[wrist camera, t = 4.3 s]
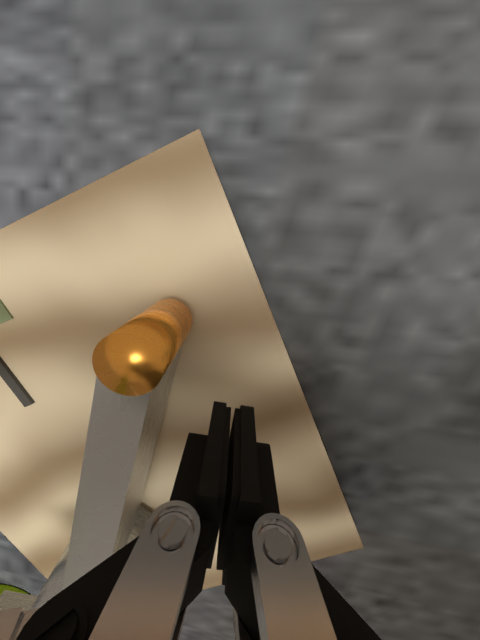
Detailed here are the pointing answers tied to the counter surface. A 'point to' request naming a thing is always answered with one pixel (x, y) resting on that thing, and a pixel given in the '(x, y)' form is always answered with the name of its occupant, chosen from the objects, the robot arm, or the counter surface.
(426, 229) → the counter surface
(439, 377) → the counter surface
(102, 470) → the lever
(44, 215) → the dial board
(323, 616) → the robot arm
